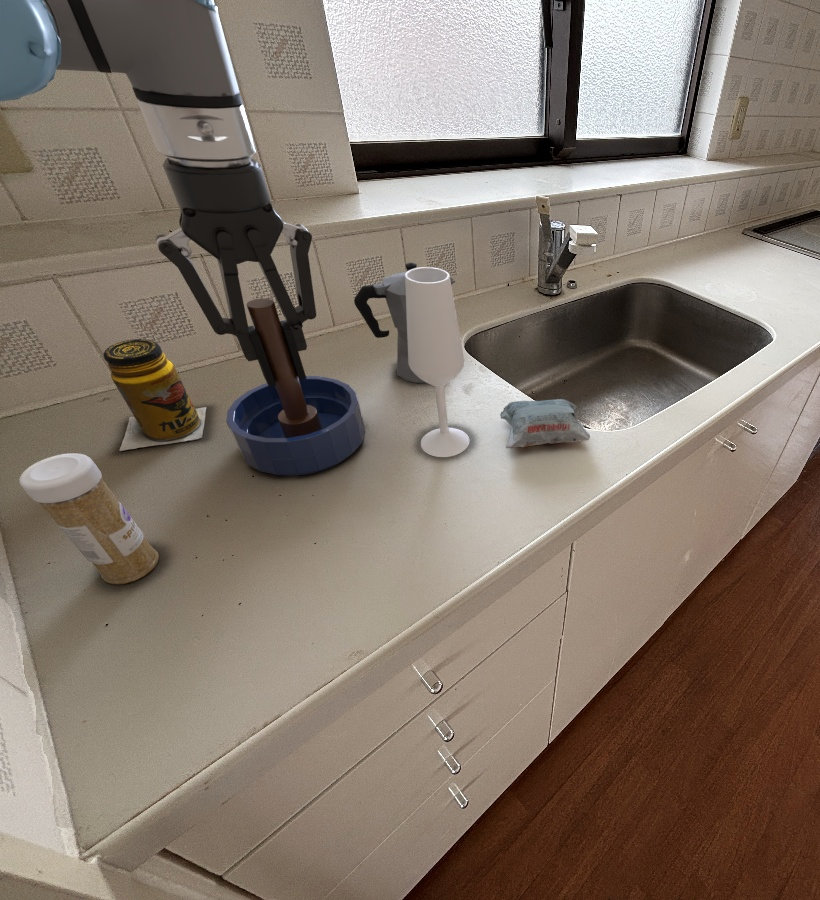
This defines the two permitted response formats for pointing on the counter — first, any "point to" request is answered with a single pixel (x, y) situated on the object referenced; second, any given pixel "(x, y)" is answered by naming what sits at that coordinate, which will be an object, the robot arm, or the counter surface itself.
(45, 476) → the sprinkles bottle
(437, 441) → the champagne flute
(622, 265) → the counter surface
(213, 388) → the counter surface
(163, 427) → the condiment
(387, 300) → the coffeepot
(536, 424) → the packaged food
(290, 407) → the muddler
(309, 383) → the bowl
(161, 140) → the robot arm
